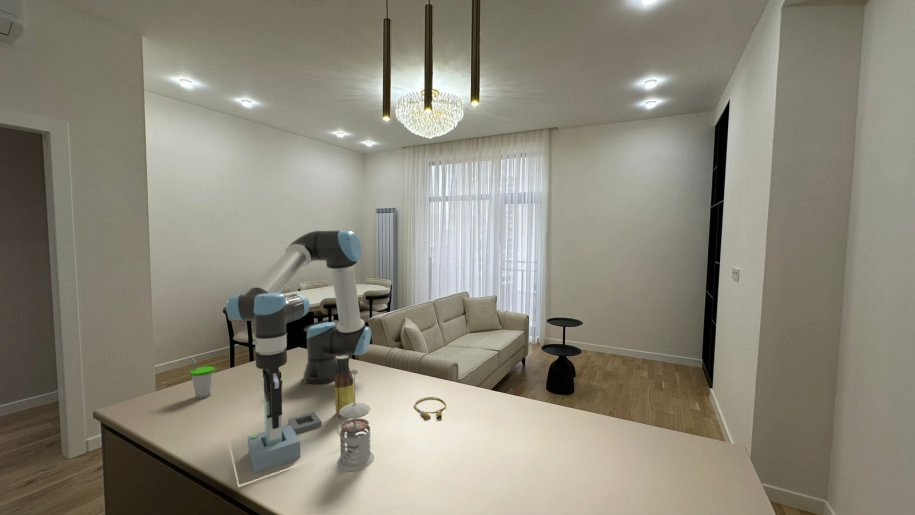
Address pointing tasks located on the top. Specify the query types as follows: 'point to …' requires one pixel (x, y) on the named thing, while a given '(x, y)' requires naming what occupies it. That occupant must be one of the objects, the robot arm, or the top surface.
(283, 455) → the port
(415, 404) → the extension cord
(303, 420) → the holster
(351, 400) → the sauce bottle
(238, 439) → the top surface
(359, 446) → the french press
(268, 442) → the plug
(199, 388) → the cup
